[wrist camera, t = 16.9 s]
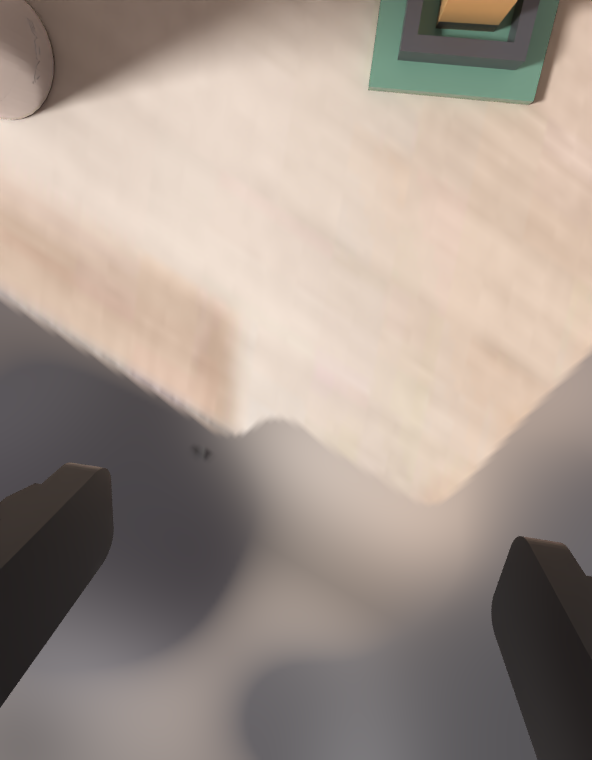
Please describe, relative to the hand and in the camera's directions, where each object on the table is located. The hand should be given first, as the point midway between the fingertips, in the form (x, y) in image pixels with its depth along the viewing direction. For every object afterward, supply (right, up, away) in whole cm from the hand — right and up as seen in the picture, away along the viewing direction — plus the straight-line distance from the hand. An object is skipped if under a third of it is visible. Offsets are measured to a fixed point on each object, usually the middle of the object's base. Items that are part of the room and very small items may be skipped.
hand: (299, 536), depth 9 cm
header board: (+12, +30, +23) cm, 40 cm away
